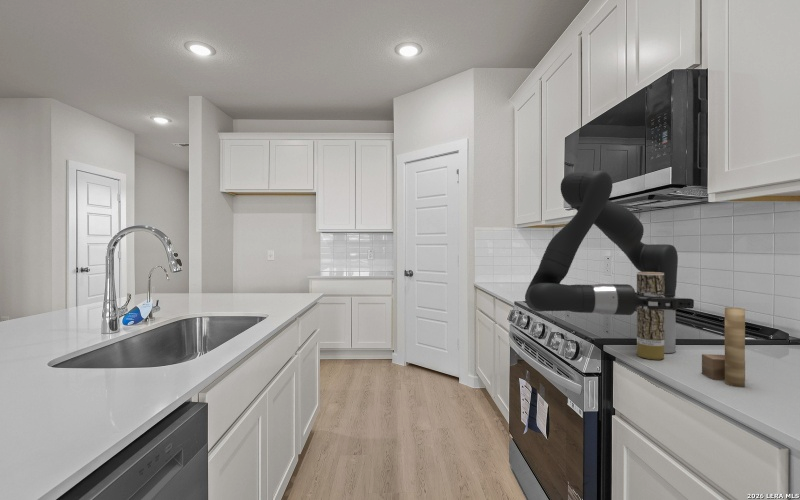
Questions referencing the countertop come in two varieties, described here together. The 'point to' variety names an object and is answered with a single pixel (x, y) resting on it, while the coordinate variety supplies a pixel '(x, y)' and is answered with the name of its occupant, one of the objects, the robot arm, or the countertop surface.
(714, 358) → the wooden block
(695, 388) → the countertop surface
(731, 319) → the dowel
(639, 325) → the brown bark cylinder
